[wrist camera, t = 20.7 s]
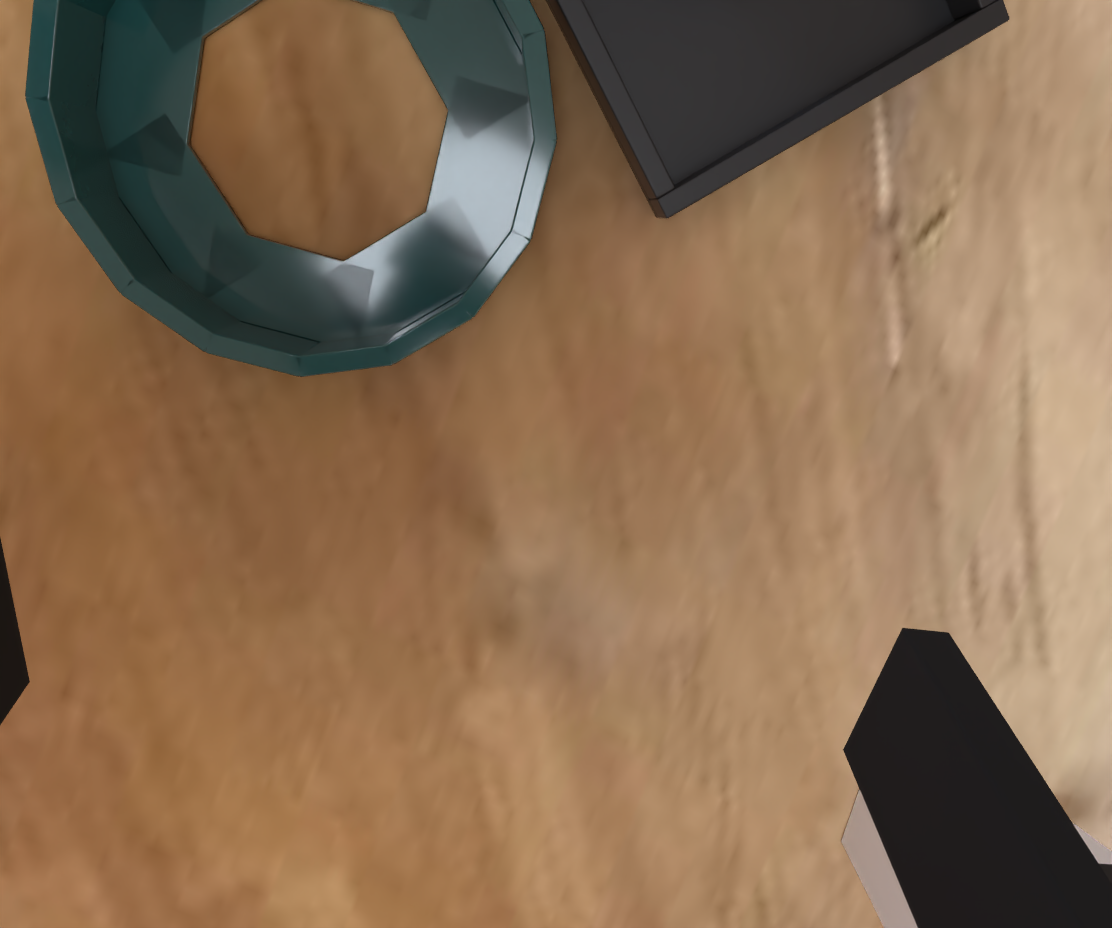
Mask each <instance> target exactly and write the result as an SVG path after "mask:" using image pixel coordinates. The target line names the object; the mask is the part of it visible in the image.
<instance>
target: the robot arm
mask: <svg viewBox="0 0 1112 928" xmlns="http://www.w3.org/2000/svg"><path fill="white" fill-rule="evenodd" d="M29 682H30V681H29V677H28V672H27V667H26V662H25V657H24V652H23V647H22V642H21V637H20V632H19V627H18V622H17V617H16V612H15V608H14V603H13V598H12V593H11V588H10V583H9V578H8V573H7V568H6V563H5V558H4V553H3V548H2V544H1V539H0V725H1V723H2V722H3V720H4V719H5V717H6V716H7V714H8V713H9V711H10V710H11V708H12V707H13V705H14V704H15V702H16V701H17V700H18V698H19V697H20V695H21V694H22V692H23V691H24V689H25V688H26V686H27V685H28V683H29ZM843 750H844V753H845V755H846V758H847V760H848V762H849V765H850V767H851V770H852V772H853V774H854V777H855V779H856V781H857V784H858V786H859V789H860V791H861V793H862V796H863V798H864V801H865V803H866V805H867V808H868V810H869V813H870V815H871V817H872V820H873V822H874V824H875V827H876V829H877V832H878V834H879V836H880V839H881V841H882V844H883V846H884V848H885V851H886V853H887V855H888V858H889V860H890V863H891V865H892V867H893V870H894V872H895V875H896V877H897V879H898V882H899V884H900V887H901V889H902V891H903V894H904V896H905V898H906V901H907V903H908V906H909V908H910V910H911V913H912V915H913V918H914V920H915V922H916V925H917V927H918V928H1112V864H1099V863H1098V862H1097V860H1096V859H1095V857H1094V856H1093V854H1092V853H1091V851H1090V849H1089V848H1088V846H1087V845H1086V843H1085V842H1084V840H1083V839H1082V837H1081V836H1080V834H1079V833H1078V831H1077V829H1076V828H1075V826H1074V825H1073V823H1072V822H1071V820H1070V819H1069V817H1068V816H1067V814H1066V813H1065V811H1064V809H1063V808H1062V806H1061V805H1060V803H1059V802H1058V800H1057V799H1056V797H1055V796H1054V794H1053V793H1052V791H1051V789H1050V788H1049V786H1048V785H1047V783H1046V782H1045V780H1044V779H1043V777H1042V776H1041V774H1040V773H1039V771H1038V769H1037V768H1036V766H1035V765H1034V763H1033V762H1032V760H1031V759H1030V757H1029V756H1028V754H1027V753H1026V751H1025V750H1024V748H1023V746H1022V745H1021V743H1020V742H1019V740H1018V739H1017V737H1016V736H1015V734H1014V733H1013V731H1012V730H1011V728H1010V726H1009V725H1008V723H1007V722H1006V720H1005V719H1004V717H1003V716H1002V714H1001V713H1000V711H999V710H998V708H997V706H996V705H995V703H994V702H993V700H992V699H991V697H990V696H989V694H988V693H987V691H986V690H985V688H984V686H983V685H982V683H981V682H980V680H979V679H978V677H977V676H976V674H975V673H974V671H973V670H972V668H971V666H970V665H969V663H968V662H967V660H966V659H965V657H964V656H963V654H962V653H961V651H960V650H959V648H958V646H957V645H956V643H955V642H954V640H953V639H952V637H951V636H950V634H949V633H947V632H937V631H927V630H917V629H908V628H902V630H901V632H900V634H899V636H898V638H897V640H896V642H895V644H894V647H893V649H892V651H891V653H890V655H889V657H888V659H887V661H886V663H885V665H884V667H883V669H882V671H881V673H880V675H879V677H878V679H877V681H876V684H875V686H874V688H873V690H872V692H871V694H870V696H869V698H868V700H867V702H866V704H865V706H864V708H863V710H862V712H861V714H860V716H859V718H858V720H857V723H856V725H855V727H854V729H853V731H852V733H851V735H850V737H849V739H848V741H847V743H846V745H845V747H844V749H843Z"/></svg>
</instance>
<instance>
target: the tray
mask: <svg viewBox="0 0 1112 928" xmlns="http://www.w3.org/2000/svg"><path fill="white" fill-rule="evenodd" d="M546 1H547V3H548V5H549V7H550V9H551V11H552V13H553V15H554V17H555V19H556V21H557V23H558V25H559V27H560V29H561V31H562V33H563V35H564V37H565V39H566V41H567V43H568V45H569V47H570V49H571V51H572V53H573V55H574V57H575V58H576V60H577V62H578V64H579V66H580V68H581V70H582V72H583V74H584V76H585V78H586V80H587V82H588V84H589V86H590V88H591V90H592V92H593V94H594V96H595V98H596V100H597V102H598V104H599V106H600V108H601V110H602V112H603V114H604V116H605V118H606V120H607V122H608V123H609V125H610V127H611V129H612V131H613V133H614V135H615V137H616V139H617V141H618V143H619V145H620V147H621V149H622V151H623V153H624V155H625V157H626V159H627V161H628V163H629V165H630V167H631V169H632V171H633V173H634V175H635V177H636V179H637V181H638V183H639V185H640V186H641V188H642V190H643V192H644V194H645V196H646V198H647V200H648V202H649V204H650V206H651V208H652V210H653V212H654V214H655V216H656V217H657V218H669V217H671V216H673V215H674V214H676V213H678V212H680V211H681V210H683V209H685V208H687V207H688V206H690V205H692V204H693V203H695V202H697V201H699V200H700V199H702V198H704V197H705V196H707V195H709V194H711V193H712V192H714V191H716V190H717V189H719V188H721V187H723V186H724V185H726V184H728V183H730V182H731V181H733V180H735V179H736V178H738V177H740V176H742V175H743V174H745V173H747V172H748V171H750V170H752V169H754V168H755V167H757V166H759V165H761V164H762V163H764V162H766V161H767V160H769V159H771V158H773V157H774V156H776V155H778V154H779V153H781V152H783V151H785V150H786V149H788V148H790V147H792V146H793V145H795V144H797V143H798V142H800V141H802V140H804V139H805V138H807V137H809V136H810V135H812V134H814V133H816V132H817V131H819V130H821V129H822V128H824V127H826V126H828V125H829V124H831V123H833V122H835V121H836V120H838V119H840V118H841V117H843V116H845V115H847V114H848V113H850V112H852V111H853V110H855V109H857V108H859V107H860V106H862V105H864V104H866V103H867V102H869V101H871V100H872V99H874V98H876V97H878V96H879V95H881V94H883V93H884V92H886V91H888V90H890V89H891V88H893V87H895V86H897V85H898V84H900V83H902V82H903V81H905V80H907V79H909V78H910V77H912V76H914V75H915V74H917V73H919V72H921V71H922V70H924V69H926V68H927V67H929V66H931V65H933V64H934V63H936V62H938V61H940V60H941V59H943V58H945V57H946V56H948V55H950V54H952V53H953V52H955V51H957V50H958V49H960V48H962V47H964V46H965V45H967V44H969V43H971V42H972V41H974V40H976V39H977V38H979V37H981V36H983V35H984V34H986V33H988V32H989V31H991V30H993V29H995V28H996V27H998V26H1000V25H1002V24H1003V23H1005V22H1007V21H1008V20H1009V16H1008V13H1007V10H1006V7H1005V4H1004V2H1003V0H546Z"/></svg>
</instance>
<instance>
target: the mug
mask: <svg viewBox="0 0 1112 928" xmlns="http://www.w3.org/2000/svg"><path fill="white" fill-rule="evenodd" d="M1073 825H1074V826H1075V828H1076V829H1077V831H1078V833H1079V834H1080V836H1081V837H1082V839H1083V840H1084V842H1085V843H1086V845H1087V846H1088V848H1089V849H1090V851H1091V853H1092V854H1093V856H1094V857H1095V859H1096V860H1097V862H1098V863H1099V864H1112V851H1111V850H1110V849H1108V848H1107V847H1105V846H1104V845H1103V844H1101V843H1100V842H1099V841H1097V840H1096V839H1095V838H1093V837H1092V836H1090V835H1089V834H1088V833H1086V832H1085V831H1084V830H1082V829H1081V828H1080V827H1078V826H1077V825H1076V824H1073ZM841 842H842V844H843V846H844V848H845V850H846V852H847V854H848V856H849V858H850V860H851V862H852V864H853V866H854V868H855V870H856V872H857V874H858V876H859V878H860V880H861V882H862V884H863V886H864V888H865V890H866V892H867V894H868V896H869V898H870V900H871V902H872V905H873V907H874V909H875V911H876V913H877V915H878V917H879V919H880V921H881V923H882V925H883V927H884V928H918V927H917V925H916V922H915V920H914V918H913V915H912V913H911V910H910V908H909V906H908V903H907V901H906V898H905V896H904V894H903V891H902V889H901V887H900V884H899V882H898V879H897V877H896V875H895V872H894V870H893V867H892V865H891V863H890V860H889V858H888V855H887V853H886V851H885V848H884V846H883V844H882V841H881V839H880V836H879V834H878V832H877V829H876V827H875V824H874V822H873V820H872V817H871V815H870V813H869V810H868V808H867V805H866V803H865V801H864V798H863V796H862V793H861V791H860V790H859V792H858V794H857V797H856V800H855V803H854V806H853V809H852V812H851V815H850V817H849V820H848V823H847V826H846V829H845V832H844V835H843V837H842V840H841Z"/></svg>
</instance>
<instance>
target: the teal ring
mask: <svg viewBox="0 0 1112 928" xmlns="http://www.w3.org/2000/svg"><path fill="white" fill-rule="evenodd" d="M260 1H262V0H34V2H33V13H32V24H31V36H30V47H29V58H28V70H27V81H26V92H25V97H26V102H27V105H28V109H29V112H30V116H31V119H32V123H33V126H34V130H35V133H36V137H37V140H38V144H39V147H40V150H41V154H42V157H43V161H44V164H45V168H46V171H47V175H48V178H49V182H50V185H51V189H52V192H53V196H54V199H55V203H56V205H57V206H58V208H59V209H60V211H61V212H62V213H63V215H64V216H65V218H66V219H67V220H68V222H69V223H70V225H71V226H72V227H73V229H74V230H75V232H76V233H77V234H78V236H79V237H80V238H81V240H82V241H83V243H84V244H85V245H86V247H87V248H88V250H89V251H90V252H91V254H92V255H93V257H94V258H95V259H96V261H97V262H98V263H99V265H100V266H101V268H102V269H103V270H104V272H105V273H106V275H107V276H108V277H109V279H110V280H111V282H112V283H113V284H114V286H115V287H116V288H117V290H118V291H119V292H120V293H121V294H122V295H123V296H124V297H126V298H127V299H129V300H130V301H132V302H133V303H134V304H136V305H137V306H139V307H140V308H142V309H143V310H145V311H146V312H147V313H149V314H150V315H152V316H153V317H155V318H156V319H157V320H159V321H160V322H162V323H163V324H165V325H166V326H168V327H169V328H170V329H172V330H173V331H175V332H176V333H178V334H179V335H181V336H182V337H183V338H185V339H186V340H188V341H189V342H191V343H192V344H194V345H195V346H196V347H198V348H199V349H201V350H202V351H204V352H206V353H209V354H212V355H216V356H220V357H224V358H228V359H232V360H236V361H240V362H244V363H247V364H251V365H255V366H259V367H263V368H267V369H271V370H275V371H279V372H283V373H286V374H290V375H294V376H300V377H305V376H312V375H320V374H328V373H336V372H343V371H351V370H359V369H367V368H374V367H382V366H390V365H393V364H396V363H397V362H399V361H401V360H402V359H404V358H406V357H408V356H409V355H411V354H413V353H414V352H416V351H418V350H420V349H421V348H423V347H425V346H426V345H428V344H430V343H432V342H433V341H435V340H437V339H438V338H440V337H442V336H444V335H445V334H447V333H449V332H450V331H452V330H454V329H456V328H457V327H459V326H461V325H462V324H464V323H466V322H468V321H469V320H471V319H472V318H473V317H475V315H476V314H477V313H478V311H479V310H480V309H481V307H482V306H483V305H484V303H485V302H486V301H487V299H488V298H489V297H490V295H491V294H492V293H493V291H494V290H495V289H496V287H497V286H498V285H499V283H500V282H501V281H502V279H503V278H504V276H505V275H506V274H507V272H508V271H509V270H510V268H511V267H512V266H513V264H514V263H515V262H516V260H517V259H518V258H519V256H520V255H521V254H522V252H523V251H524V250H525V248H526V247H527V246H528V244H529V243H530V240H531V239H532V236H533V232H534V228H535V224H536V220H537V216H538V213H539V209H540V205H541V201H542V197H543V193H544V189H545V186H546V182H547V178H548V174H549V170H550V166H551V162H552V159H553V155H554V151H555V147H556V143H557V141H556V140H557V134H556V125H555V117H554V108H553V99H552V91H551V82H550V73H549V65H548V56H547V47H546V39H545V31H544V28H543V26H542V24H541V22H540V20H539V18H538V16H537V14H536V12H535V10H534V8H533V6H532V5H531V3H530V1H529V0H352V1H355V2H359V3H362V4H365V5H368V6H372V7H375V8H378V9H381V10H385V11H388V12H391V13H394V15H395V16H396V18H397V20H398V22H399V23H400V25H401V27H402V29H403V31H404V32H405V34H406V36H407V38H408V39H409V41H410V43H411V45H412V47H413V48H414V50H415V52H416V54H417V56H418V57H419V59H420V61H421V63H422V64H423V66H424V68H425V70H426V72H427V73H428V75H429V77H430V79H431V80H432V82H433V84H434V86H435V88H436V89H437V91H438V93H439V95H440V97H441V98H442V100H443V102H444V104H445V105H446V107H447V109H448V113H447V118H446V122H445V127H444V131H443V136H442V140H441V145H440V149H439V154H438V158H437V163H436V167H435V172H434V176H433V181H432V185H431V190H430V194H429V199H428V203H427V208H426V212H424V213H423V214H421V215H419V216H418V217H416V218H414V219H413V220H411V221H409V222H408V223H406V224H404V225H403V226H401V227H399V228H398V229H396V230H394V231H393V232H391V233H389V234H388V235H386V236H385V237H383V238H381V239H380V240H378V241H376V242H375V243H373V244H371V245H370V246H368V247H366V248H365V249H363V250H361V251H360V252H358V253H356V254H355V255H353V256H351V257H350V258H348V259H347V260H345V261H344V260H340V259H336V258H333V257H329V256H325V255H322V254H318V253H314V252H311V251H307V250H303V249H300V248H296V247H292V246H289V245H285V244H281V243H278V242H274V241H270V240H267V239H263V238H260V237H256V236H252V235H249V234H248V233H247V231H246V230H245V228H244V227H243V225H242V224H241V222H240V220H239V219H238V217H237V216H236V214H235V213H234V211H233V210H232V208H231V207H230V205H229V204H228V202H227V201H226V199H225V198H224V196H223V195H222V193H221V192H220V190H219V189H218V187H217V186H216V184H215V182H214V181H213V179H212V178H211V176H210V175H209V173H208V172H207V170H206V169H205V167H204V166H203V164H202V163H201V161H200V160H199V158H198V157H197V155H196V154H195V152H194V151H193V149H192V148H191V146H190V145H189V144H190V137H191V130H192V123H193V116H194V109H195V102H196V95H197V88H198V81H199V74H200V67H201V60H202V53H203V46H204V39H205V37H207V36H209V35H210V34H212V33H213V32H215V31H216V30H218V29H219V28H221V27H222V26H224V25H225V24H227V23H228V22H230V21H231V20H233V19H234V18H236V17H237V16H239V15H241V14H242V13H244V12H245V11H247V10H248V9H250V8H251V7H253V6H254V5H256V4H257V3H259V2H260Z"/></svg>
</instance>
